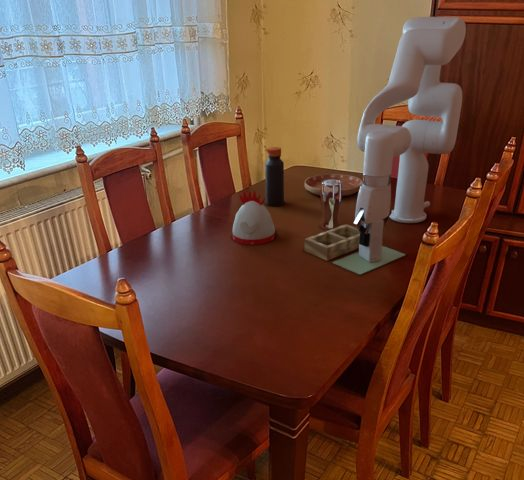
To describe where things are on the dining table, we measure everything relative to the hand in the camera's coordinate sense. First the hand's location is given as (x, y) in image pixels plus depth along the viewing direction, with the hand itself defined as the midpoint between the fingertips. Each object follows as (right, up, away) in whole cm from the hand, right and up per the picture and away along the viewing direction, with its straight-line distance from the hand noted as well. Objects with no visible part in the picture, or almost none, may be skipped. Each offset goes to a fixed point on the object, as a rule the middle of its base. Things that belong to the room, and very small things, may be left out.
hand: (370, 242), depth 157 cm
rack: (-8, 0, +11) cm, 14 cm away
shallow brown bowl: (-3, +32, +58) cm, 66 cm away
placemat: (0, -4, +3) cm, 5 cm away
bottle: (-27, +24, +47) cm, 59 cm away
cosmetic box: (0, -4, +3) cm, 5 cm away
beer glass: (-9, +10, +26) cm, 29 cm away
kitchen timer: (-34, +6, +20) cm, 40 cm away
